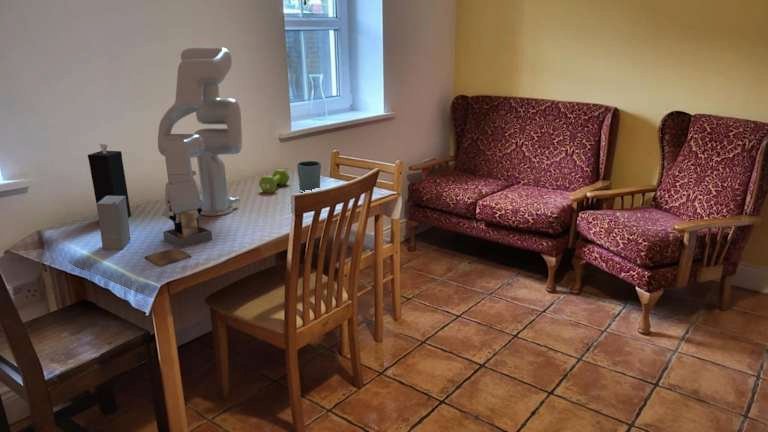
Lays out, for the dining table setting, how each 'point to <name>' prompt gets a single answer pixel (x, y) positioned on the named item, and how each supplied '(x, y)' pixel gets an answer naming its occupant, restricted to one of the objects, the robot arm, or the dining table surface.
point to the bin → (187, 241)
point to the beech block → (188, 224)
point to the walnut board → (167, 256)
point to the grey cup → (309, 175)
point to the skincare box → (113, 222)
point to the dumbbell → (274, 180)
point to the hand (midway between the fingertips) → (187, 230)
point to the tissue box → (108, 175)
